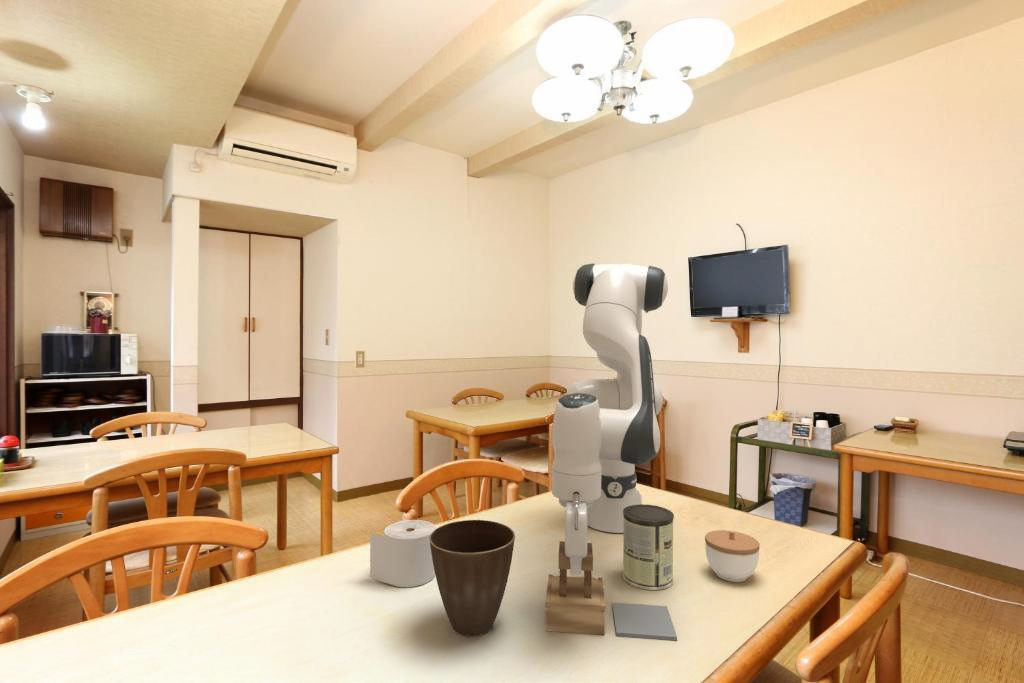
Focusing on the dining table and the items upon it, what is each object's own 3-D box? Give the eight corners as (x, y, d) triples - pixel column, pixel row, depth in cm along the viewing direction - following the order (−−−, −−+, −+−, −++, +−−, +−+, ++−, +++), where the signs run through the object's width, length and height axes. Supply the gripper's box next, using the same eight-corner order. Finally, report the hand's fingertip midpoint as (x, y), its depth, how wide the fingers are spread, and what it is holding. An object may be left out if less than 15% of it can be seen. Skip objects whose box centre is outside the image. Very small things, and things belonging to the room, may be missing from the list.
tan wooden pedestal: (548, 600, 101) (548, 574, 101) (602, 604, 100) (602, 577, 100) (545, 631, 91) (545, 601, 90) (605, 635, 89) (605, 606, 89)
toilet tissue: (445, 575, 111) (446, 528, 111) (398, 596, 102) (398, 545, 102) (415, 560, 118) (415, 516, 118) (368, 578, 110) (368, 530, 109)
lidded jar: (765, 590, 106) (765, 543, 105) (708, 584, 108) (709, 539, 108) (752, 566, 116) (752, 524, 116) (701, 562, 118) (701, 520, 118)
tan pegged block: (559, 580, 98) (559, 541, 98) (591, 582, 98) (592, 542, 98) (558, 596, 92) (558, 554, 92) (592, 599, 92) (593, 556, 92)
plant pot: (482, 662, 82) (482, 560, 82) (410, 632, 90) (411, 539, 90) (529, 618, 95) (530, 530, 94) (463, 595, 103) (464, 514, 102)
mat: (612, 605, 99) (612, 602, 99) (666, 609, 98) (666, 606, 98) (616, 636, 89) (616, 632, 89) (677, 640, 88) (677, 637, 88)
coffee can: (628, 564, 117) (628, 501, 117) (676, 573, 113) (677, 508, 112) (617, 584, 108) (617, 516, 107) (669, 595, 103) (669, 524, 103)
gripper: (596, 504, 84) (595, 590, 84) (592, 470, 104) (591, 540, 105) (556, 502, 85) (556, 587, 85) (560, 469, 105) (560, 538, 105)
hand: (575, 561), depth 95 cm, fingers open, 8 cm apart
